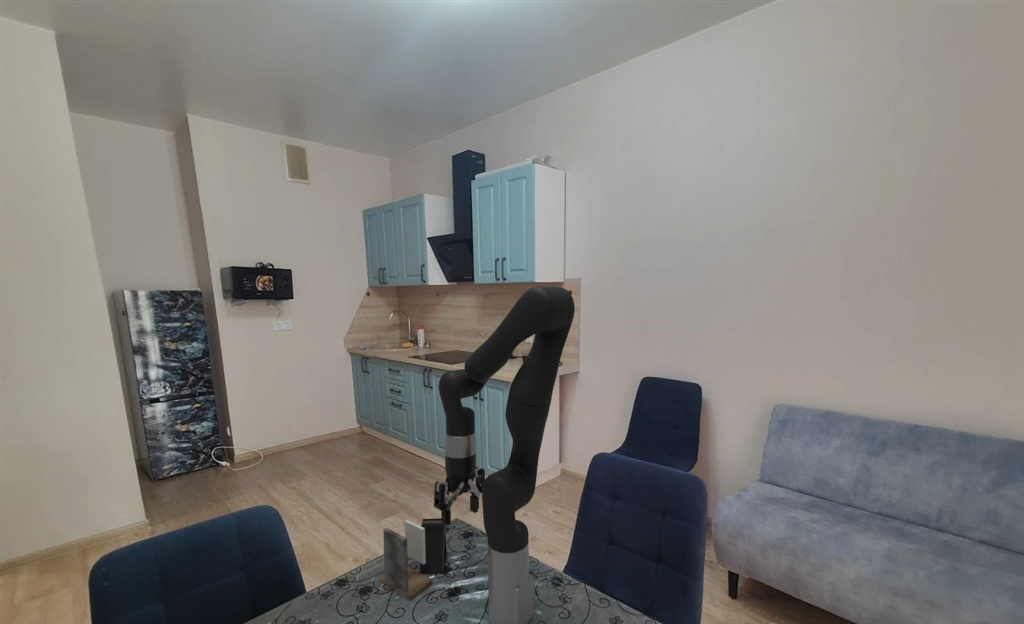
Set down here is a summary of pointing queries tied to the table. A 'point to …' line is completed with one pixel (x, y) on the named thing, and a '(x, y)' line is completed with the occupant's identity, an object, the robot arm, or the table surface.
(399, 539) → the grey bookend
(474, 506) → the robot arm
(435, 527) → the phone stand
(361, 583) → the table surface
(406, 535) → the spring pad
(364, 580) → the table surface
